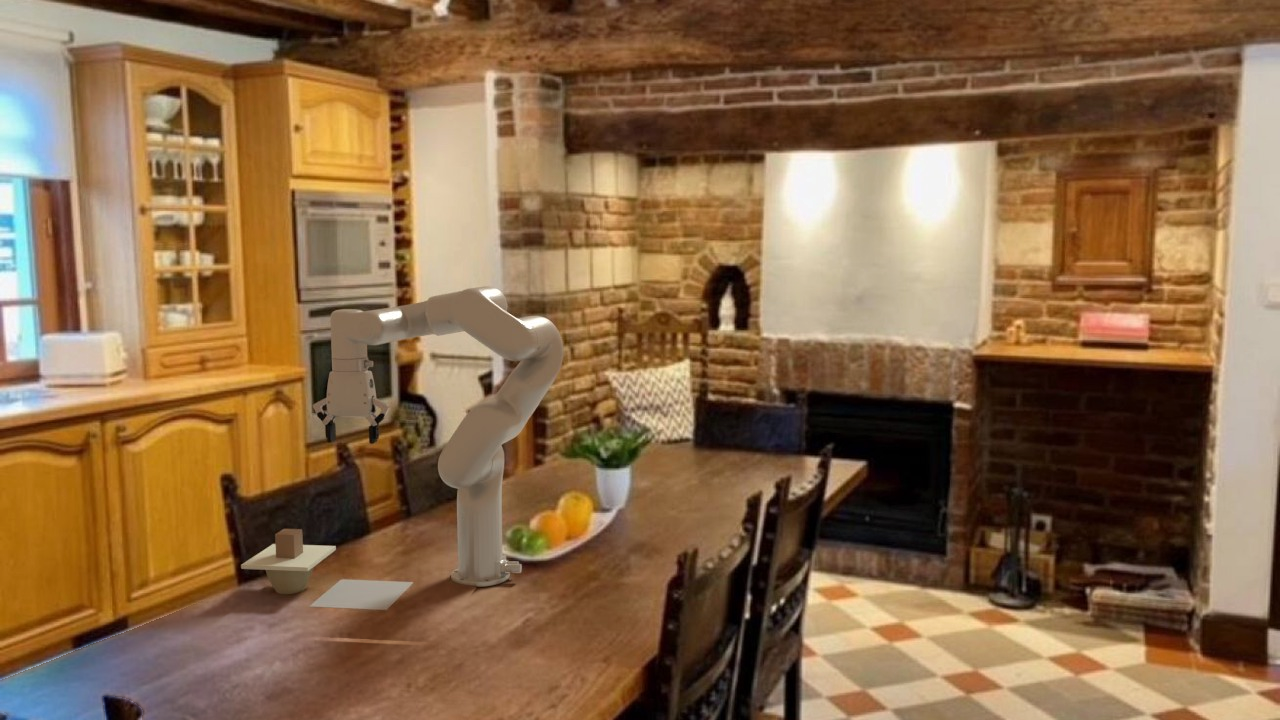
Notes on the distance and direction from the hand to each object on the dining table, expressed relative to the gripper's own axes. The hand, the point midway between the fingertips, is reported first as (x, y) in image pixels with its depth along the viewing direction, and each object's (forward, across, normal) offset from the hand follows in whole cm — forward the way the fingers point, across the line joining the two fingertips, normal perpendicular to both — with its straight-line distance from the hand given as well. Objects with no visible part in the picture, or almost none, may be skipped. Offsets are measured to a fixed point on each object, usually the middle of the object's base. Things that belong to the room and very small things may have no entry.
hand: (352, 441), depth 225 cm
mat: (+28, -9, +19) cm, 35 cm away
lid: (+21, +7, +18) cm, 29 cm away
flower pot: (+28, +7, +18) cm, 34 cm away
